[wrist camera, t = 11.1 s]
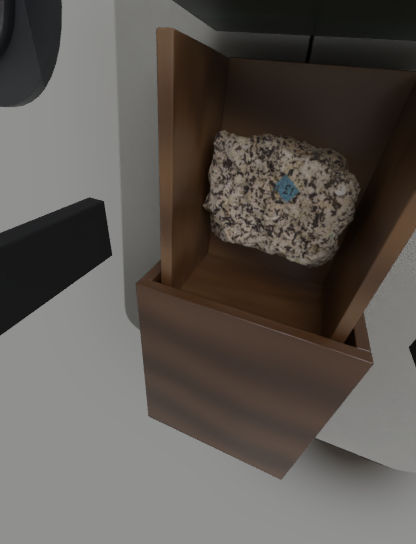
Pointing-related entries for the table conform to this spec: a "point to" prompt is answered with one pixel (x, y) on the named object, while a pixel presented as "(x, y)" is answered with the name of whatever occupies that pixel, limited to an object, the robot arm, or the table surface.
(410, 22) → the drawer
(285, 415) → the cabinet
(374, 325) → the table surface
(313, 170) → the stone
